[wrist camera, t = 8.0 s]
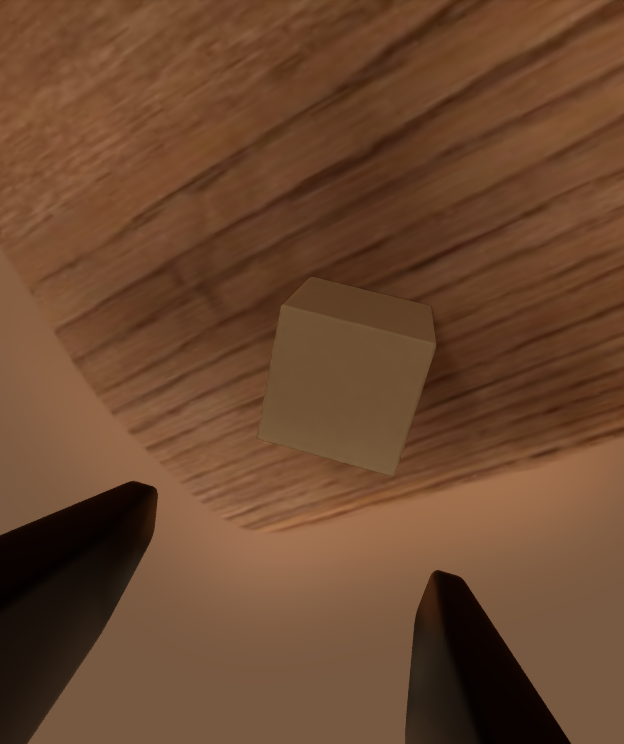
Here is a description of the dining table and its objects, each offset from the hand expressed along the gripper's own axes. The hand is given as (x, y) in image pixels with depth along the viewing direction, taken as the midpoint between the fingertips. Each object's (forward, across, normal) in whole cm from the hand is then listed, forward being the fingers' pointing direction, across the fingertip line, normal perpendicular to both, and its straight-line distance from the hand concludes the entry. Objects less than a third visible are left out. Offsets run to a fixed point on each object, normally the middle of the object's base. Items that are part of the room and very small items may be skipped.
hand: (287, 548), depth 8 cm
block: (+10, 0, 0) cm, 10 cm away
